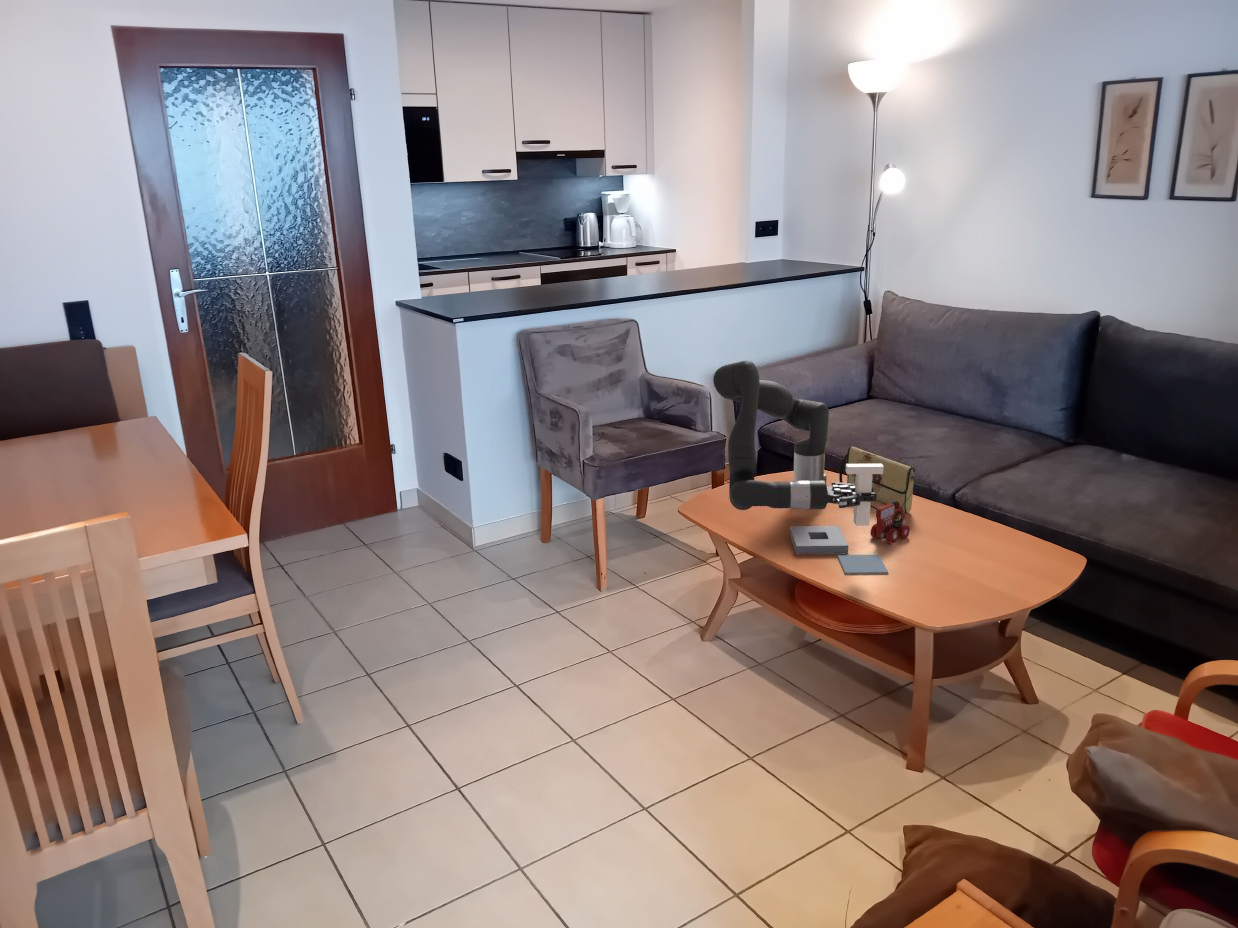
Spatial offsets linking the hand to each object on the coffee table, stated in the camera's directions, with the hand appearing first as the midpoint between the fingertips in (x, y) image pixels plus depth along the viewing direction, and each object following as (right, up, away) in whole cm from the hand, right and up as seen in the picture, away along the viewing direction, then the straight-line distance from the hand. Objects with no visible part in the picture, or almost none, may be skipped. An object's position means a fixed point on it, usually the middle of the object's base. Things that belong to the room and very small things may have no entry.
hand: (874, 494), depth 227 cm
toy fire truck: (+11, -13, +23) cm, 29 cm away
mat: (-1, -19, +6) cm, 20 cm away
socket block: (-10, -15, +20) cm, 27 cm away
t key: (-3, -8, +3) cm, 8 cm away
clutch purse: (+14, -5, +49) cm, 51 cm away
